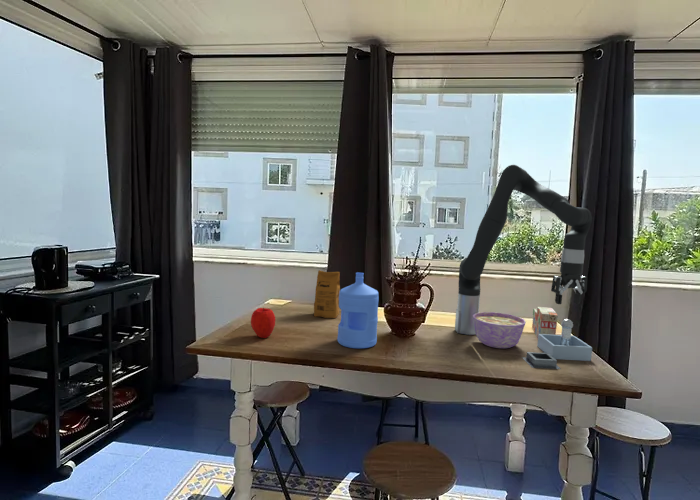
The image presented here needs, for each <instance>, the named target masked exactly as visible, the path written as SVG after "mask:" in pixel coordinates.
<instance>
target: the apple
mask: <svg viewBox="0 0 700 500" xmlns="http://www.w3.org/2000/svg"><path fill="white" fill-rule="evenodd" d="M250 325H251V329H252V330H253V332H254V333H255V334H256V335H257V337H258V338H261V339H267V338H269V337H270V336H271V334H272V333H273V331H274V330H275V329H274V328H275V326H276V315H275V313H274V311H273V310H272V309H271V308H266V307H258V308H257V309H255V310H254V311H253V312H252V314H251V318H250Z"/></svg>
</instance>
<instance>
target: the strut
mask: <svg viewBox="0 0 700 500" xmlns="http://www.w3.org/2000/svg"><path fill="white" fill-rule="evenodd" d="M573 323H574V322H573V321H572V320H571V319H568V318H564V319H563V320H562V321H561V323H560V325H561V334H560V335H561V344H560V345H564V346H570V339H571V336H572V328H573V327H574V324H573Z"/></svg>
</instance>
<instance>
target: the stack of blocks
mask: <svg viewBox="0 0 700 500" xmlns="http://www.w3.org/2000/svg"><path fill="white" fill-rule="evenodd" d="M536 307H537V308H533V309H532V310H533V311H532V325H531V326H532V327H531V328H532V330H533V331H534V332H533V333H534V334H535V335H536V337H537V339H538V334H549V335H557V333H556V332H557V326H558V318H559V317H558V316H559V315H558V314H557V312H556V311H555V310H554V309H553V307H545V306H544V307H543V306H536Z"/></svg>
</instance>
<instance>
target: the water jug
mask: <svg viewBox="0 0 700 500" xmlns="http://www.w3.org/2000/svg"><path fill="white" fill-rule="evenodd" d="M364 274H365V273H364V272H358V271H357V272H355V282H354V283H352V284H350V285H348V286H345V287H343V288H340V292H339V302H338V304H339V310H341V311H340V312H341V313H340V322H339V323H338V325H337V342H338V344H340V345H341V346H343V347H345V348H349V349H360V350H361V349H368V348H372V347H374V346H376V344H377V342H378V341H377V340H378V336H377V334H378V323H379V322H378V321H379V317H378V311H379V309H378V308H379V291H378V290H377V289H375V288H373V287H371V286H369V285H367V284H366V283H364Z"/></svg>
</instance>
